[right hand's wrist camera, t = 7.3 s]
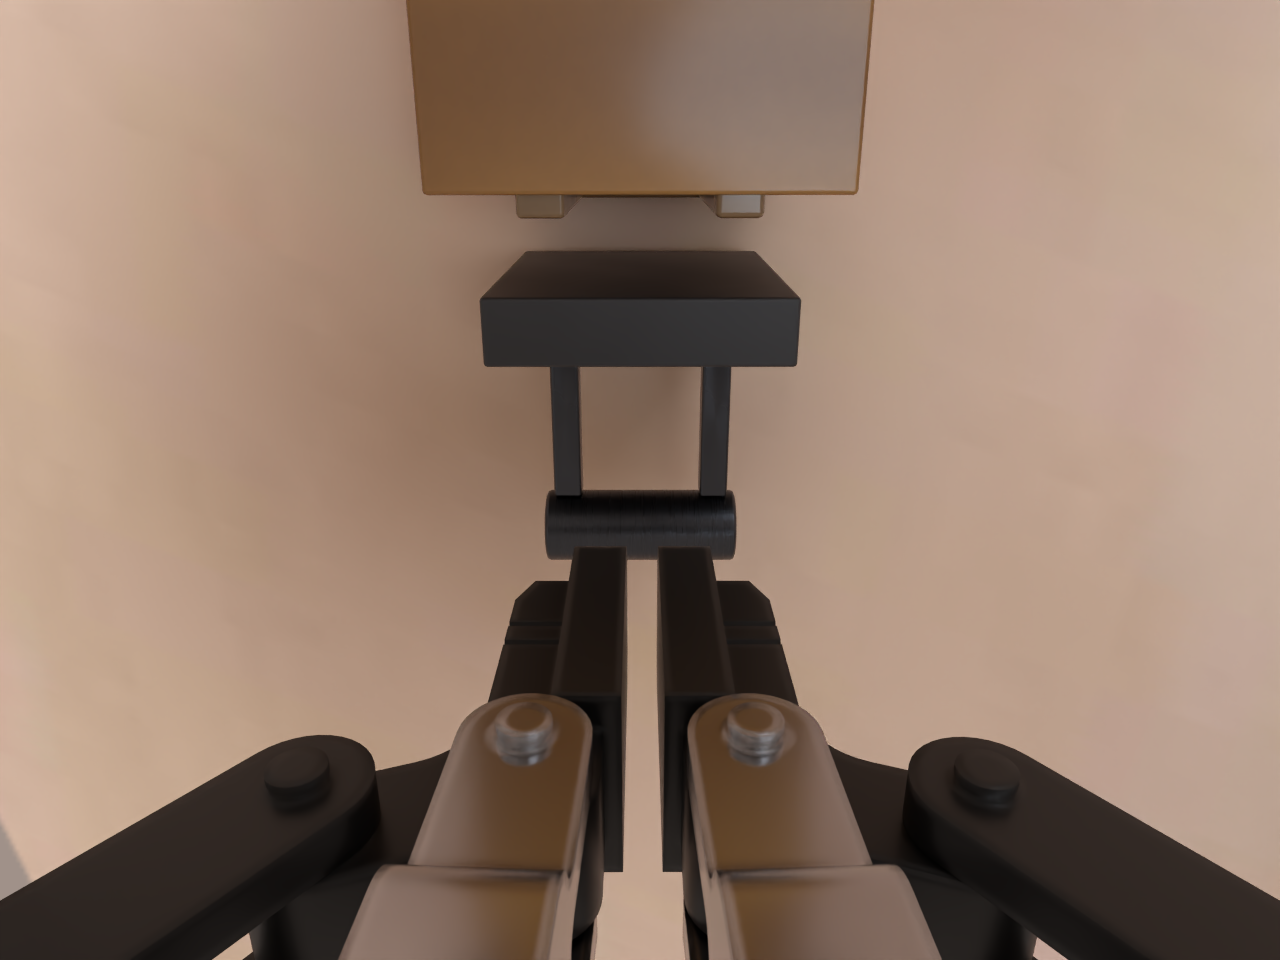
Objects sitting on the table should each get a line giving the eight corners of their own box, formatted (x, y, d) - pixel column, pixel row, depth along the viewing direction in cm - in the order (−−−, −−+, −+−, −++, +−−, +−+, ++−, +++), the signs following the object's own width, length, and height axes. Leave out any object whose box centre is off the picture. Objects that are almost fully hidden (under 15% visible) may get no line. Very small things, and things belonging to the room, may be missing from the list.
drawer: (744, 504, 23) (779, 632, 17) (537, 504, 23) (501, 632, 17) (791, -510, 16) (880, -893, 10) (489, -511, 16) (399, -893, 10)
